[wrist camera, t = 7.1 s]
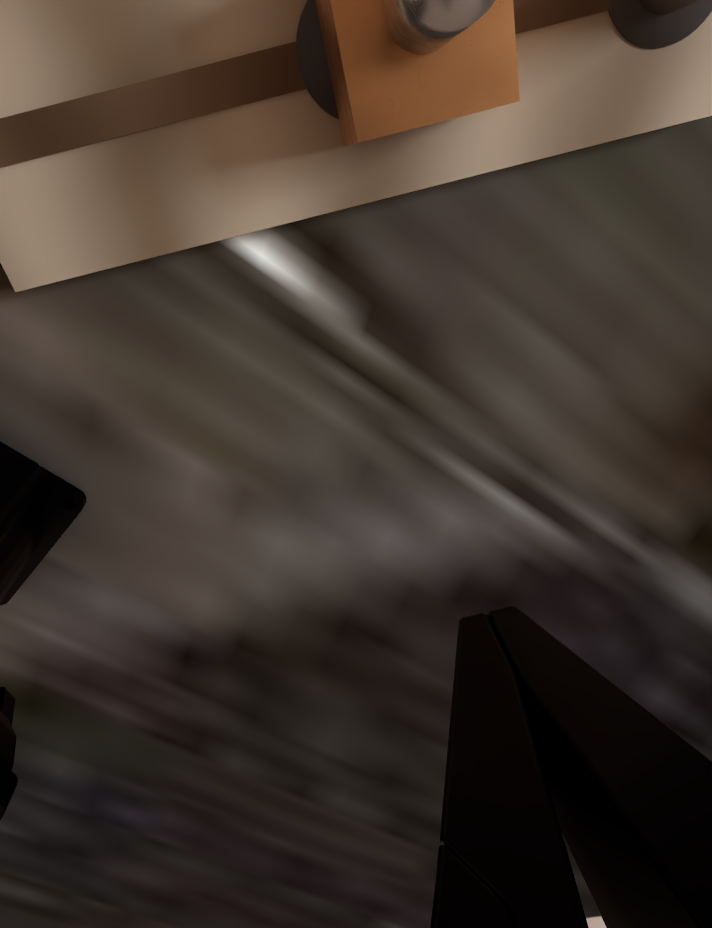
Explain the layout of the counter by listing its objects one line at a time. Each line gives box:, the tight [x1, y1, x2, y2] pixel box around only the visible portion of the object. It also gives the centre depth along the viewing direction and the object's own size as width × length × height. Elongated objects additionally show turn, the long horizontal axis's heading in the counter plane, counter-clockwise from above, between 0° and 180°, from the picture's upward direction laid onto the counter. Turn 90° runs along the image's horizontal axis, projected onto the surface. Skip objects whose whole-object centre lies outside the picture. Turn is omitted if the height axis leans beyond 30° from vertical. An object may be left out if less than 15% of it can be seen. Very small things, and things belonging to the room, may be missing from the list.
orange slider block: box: [315, 0, 520, 147], centre depth 11 cm, size 4×4×6 cm
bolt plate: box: [0, 0, 712, 292], centre depth 12 cm, size 21×7×8 cm, turn 103°
